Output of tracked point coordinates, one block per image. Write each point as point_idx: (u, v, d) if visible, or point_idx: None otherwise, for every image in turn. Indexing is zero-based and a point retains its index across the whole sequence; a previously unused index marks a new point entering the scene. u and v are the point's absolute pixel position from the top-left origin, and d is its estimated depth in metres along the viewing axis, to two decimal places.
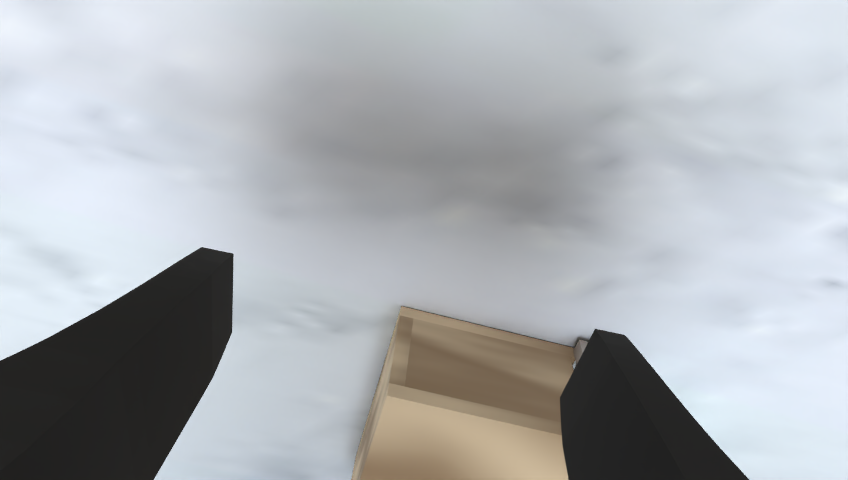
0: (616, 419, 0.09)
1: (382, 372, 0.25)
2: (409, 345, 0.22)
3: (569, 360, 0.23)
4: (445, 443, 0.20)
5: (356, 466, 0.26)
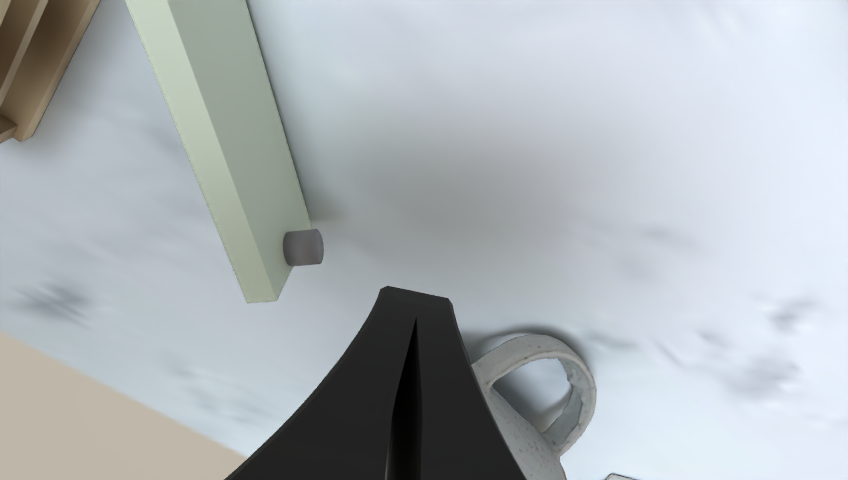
0: (409, 377, 0.09)
1: None
2: None
3: None
4: None
5: None
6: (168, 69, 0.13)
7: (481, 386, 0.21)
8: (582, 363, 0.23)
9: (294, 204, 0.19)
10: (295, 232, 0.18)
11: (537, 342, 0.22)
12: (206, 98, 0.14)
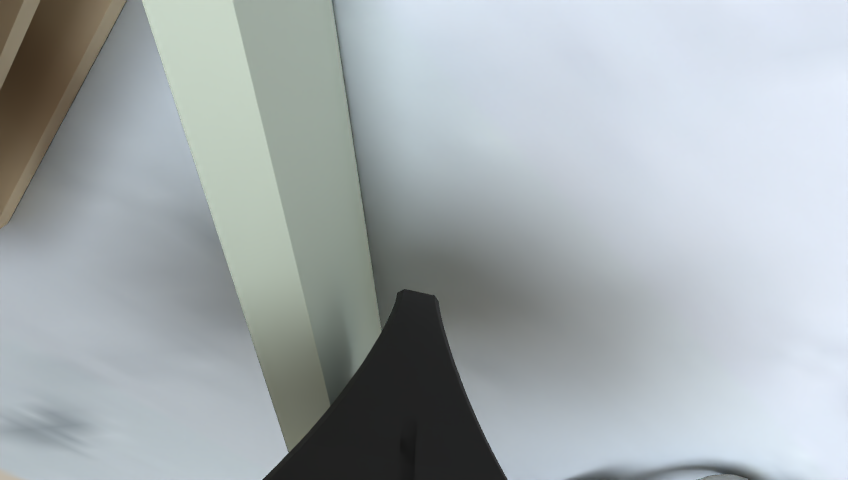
0: None
1: None
2: None
3: None
4: None
5: None
6: (229, 180, 0.07)
7: None
8: None
9: (372, 331, 0.13)
10: None
11: None
12: (293, 229, 0.07)
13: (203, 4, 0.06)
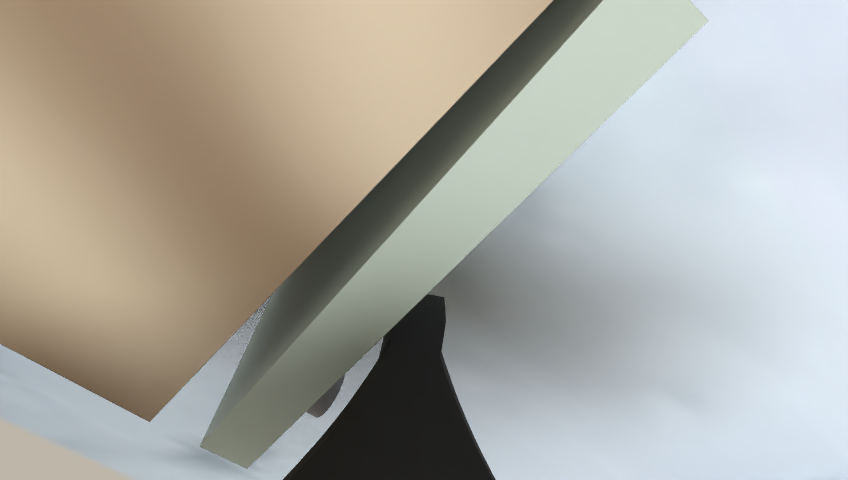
0: None
1: None
2: None
3: None
4: None
5: None
6: (474, 186, 0.07)
7: None
8: None
9: None
10: None
11: None
12: None
13: (617, 71, 0.06)
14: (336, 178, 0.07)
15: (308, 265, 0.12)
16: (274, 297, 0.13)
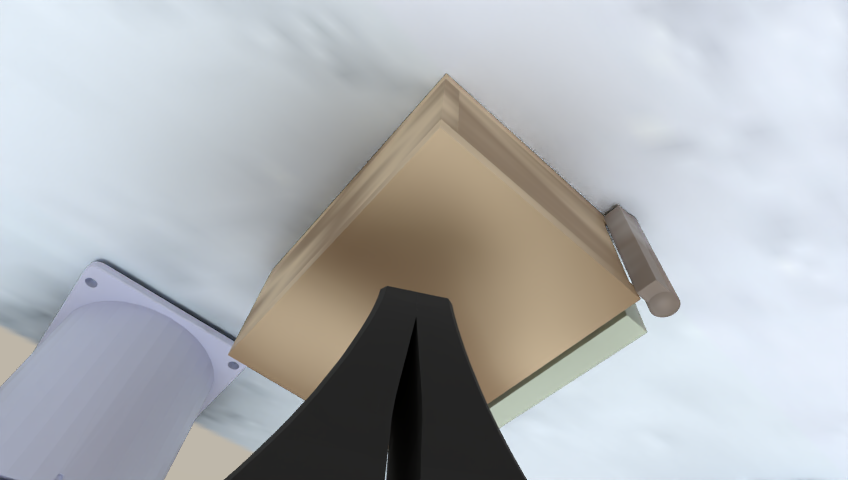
0: (410, 377, 0.09)
1: (377, 155, 0.19)
2: (458, 106, 0.16)
3: (602, 222, 0.19)
4: (467, 234, 0.15)
5: (284, 268, 0.20)
6: (560, 371, 0.18)
7: None
8: None
9: None
10: None
11: None
12: None
13: (616, 343, 0.17)
14: (514, 373, 0.18)
15: None
16: None
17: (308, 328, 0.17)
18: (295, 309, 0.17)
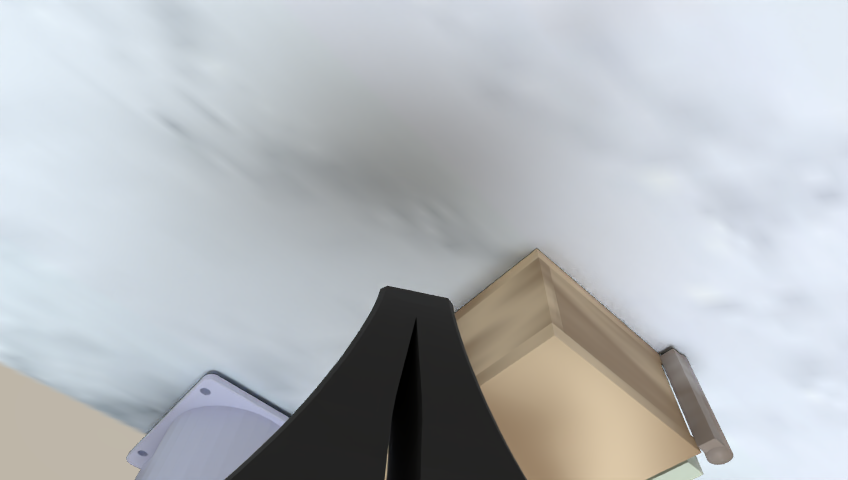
0: (409, 378, 0.09)
1: (473, 308, 0.22)
2: (554, 291, 0.19)
3: (660, 364, 0.23)
4: (564, 404, 0.19)
5: None
6: None
7: None
8: None
9: None
10: None
11: None
12: None
13: None
14: None
15: None
16: None
17: None
18: None
